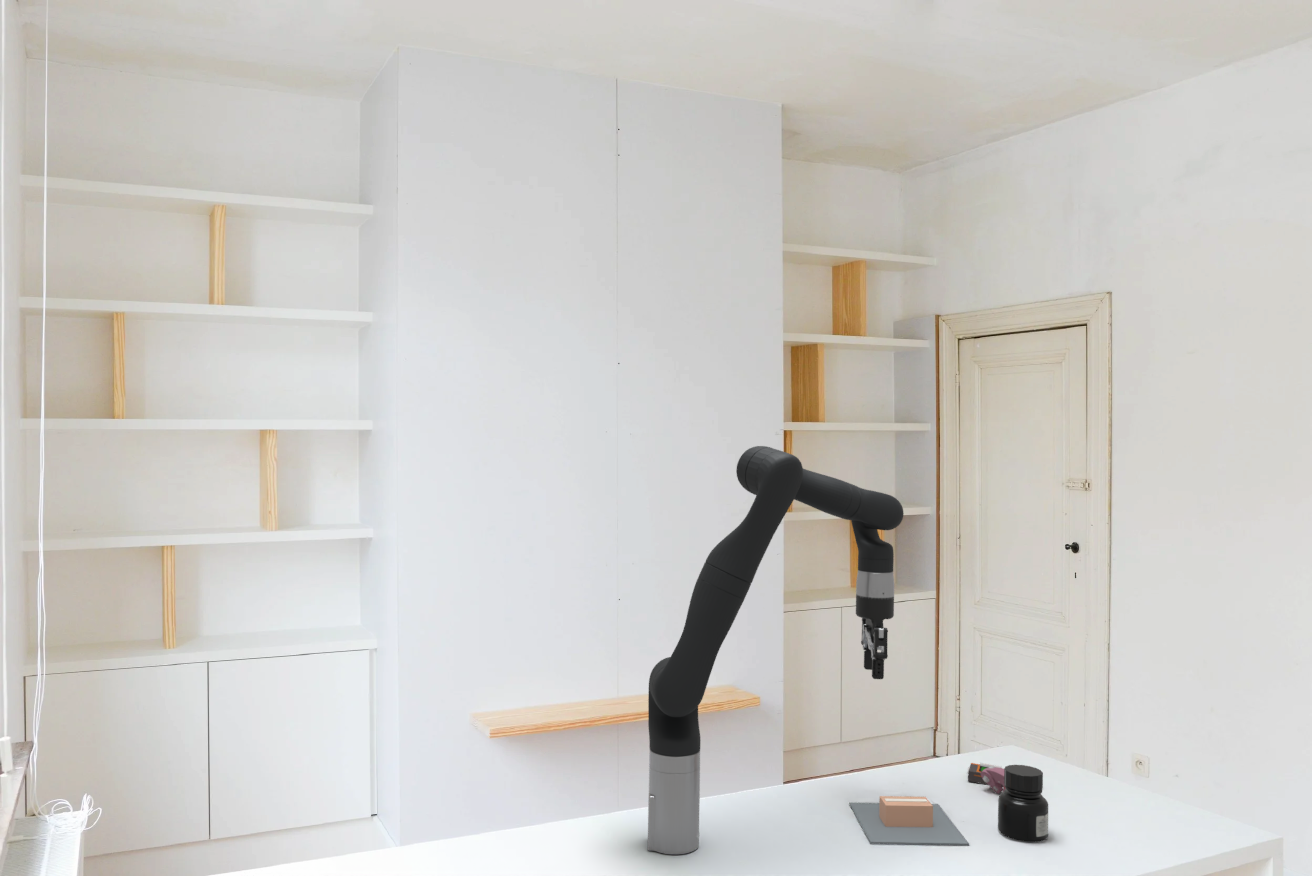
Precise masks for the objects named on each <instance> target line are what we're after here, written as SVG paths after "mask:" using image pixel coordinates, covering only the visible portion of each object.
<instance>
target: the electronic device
mask: <svg viewBox="0 0 1312 876" xmlns="http://www.w3.org/2000/svg"><path fill="white" fill-rule="evenodd" d="M990 766H992V767H993V768H995V767H998V768H1003V767H1002V765H995V764H990V763H983V762H979V763H974V762H971V763H970V765H969V767H967V773H966V774H967V776H968V777H967V782H971V783H978V784H983V785H988V784H987V783H986V782H984V780H983V779H982V777H981V772H982V771H983V770H984V769H986V768H989V767H990ZM988 786H989V785H988ZM1001 786H1002V787H1003V785H1002V784H1001Z"/></svg>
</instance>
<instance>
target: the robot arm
mask: <svg viewBox="0 0 1312 876" xmlns="http://www.w3.org/2000/svg"><path fill="white" fill-rule="evenodd" d="M735 474H736V478H737V481H738V482H739V484H740V485H741V486H742V488H743V489H745V490H746V491H747V492H749V493H750V494H753V495H754V496H755V498H754V501H753V502H752V504H751V507H750V509H749V510H748V512H747V514H746V515H745V517H744V518H743V520H742V521H741V522H740V524H739V525H738V526H737V527H735V528H734V529H733V530H732V531H731V532H730V533H729V534H727V535H726V536H725V537H723V539H722V540H721V541H720V542H719V543H718V544H716V546H715V547H713V548H712V549H711V551H710V552H709V553H708V555H707V557H706V559H705V562H704V564H703V566H702V568H701V570H700V572H699V574H698V577H697V579H696V581H695V585H694V587H693V591H692V593H691V597H690V601H689V606H688V608H687V609H688V610H687V613H686V619H685V623H684V626H683V628H682V629H683V630H682V633H681V635H680V637H679V640H678V642H677V644H676V646H675V648H674V650H673V652H672V654H671V656H669V657H665V658H663V659H661V660H660V661H658V662H657V663H656V664H655V665H654V666H653V667H652V670H651V672H650V675H649V679H648V700H647V701H648V703H647V704H648V707H647V708H648V714H647V715H648V719H647V720H648V721H647V722H648V726H647V727H648V736H649V737H648V739H649V741H648V743H649V745H648V747H649V763H648V764H649V765H648V767H649V768H648V771H649V773H648V801H647V802H648V807H647V808H648V809H647V812H648V813H647V814H648V815H647V816H648V817H647V851H651V852H652V851H653V852H658V853H660V854H666V855H684V854H689V853H691V852H694V851H695V850H697V849H698V848H699V845H700V797H701V796H700V795H701V794H700V792H701V788H700V787H701V785H700V784H701V782H700V781H701V731H700V724H699V723H700V721H699V705H700V704H701V702H702V700H703V698H704V696H705V692H706V689H707V685H708V683H709V680H710V676H711V674H712V671H713V668H714V664H715V661H716V659H717V656H718V653H719V651H720V650H721V649H720V648H721V647H722V645H723V643H724V640H725V639H726V637H727V635H728V633H729V631H730V630H731V628H732V626H733V623H734V622H735V620H736V617H737V616H738V613H739V610H740V609H741V607H742V605H743V604H744V601H745V599H746V597H747V595H748V592H749V590H750V587H751V585H752V583H753V581H754V579H755V575H756V574H757V571H758V568H759V567H760V564H761V562H762V560H763V558H764V556H765V554H766V552H767V549H768V548H769V546H770V544H771V541H772V539H773V538H774V536H775V534H776V531H777V530H778V528H779V526H780V524H781V522H782V520H783V519H784V518H785V515H787V512H788V511H789V509H790V507H791V505H792V503H793V502H794V500H795V501H798V502H800V503H801V504H802V503H803V504H804V505H807V506H809V507H811V508H813V509H815V510H818V511H821V512H823V513H825V514H829V515H831V516H834V517H837V518H840V519H843V520H847V521H851V526H852V530H853V534H854V539H855V542H856V547H857V551H858V552H857V553H858V554H857V573H856V575H857V576H856V582H855V585H856V586H855V587H856V589H855V592H856V593H855V616H857V617H859V618H861V641H860V643H861V646H862V650H863V668H864V669H865V670H868V671H871V677H872V679H874V680H883V679H884V677H885V676H884V675H885V661H886V660H887V659H888V658H889V656H888V632H889V630H888V628H887V627H884V620H891V619H892V618H894V616H895V577H894V560H895V559H894V557H895V556H894V553H895V552H894V546H893V545H892V544H891V543H889V542H886V541H884V540H883V539H881V537H880V535H879V532H878V530H880V531H891V530H894V529H896V528H897V527H899V526H900V525H901V523H902V521H903V519H904V508H903V505H902V504H901V502H900V501H899V499H897V497H895V496H893V495H891V494H888V493H884V492H880V491H875V490H871V489H866V488H862V487H859V486H857V485H855V484H852V483H850V482H848V481H845V480H841V479H839V478H836V477H833V476H828V475H826V474H821V473H818V472H815V471H812V470H809V469H806V468H804V467H803V464H802V462H801V460H800V459H799V457H797V456H796V455H794V454H792V453H788V452H786V451H782V450H781V449H780V450H779V449H776V448H773V447H771V446H765V445H756V446H753V447H752V446H751V447H749V448H747V450H745V451H744V452H743V453H742V455H741V456H740V457H739V458H738V461H737V463H736V473H735ZM878 651H879V652H878Z"/></svg>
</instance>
